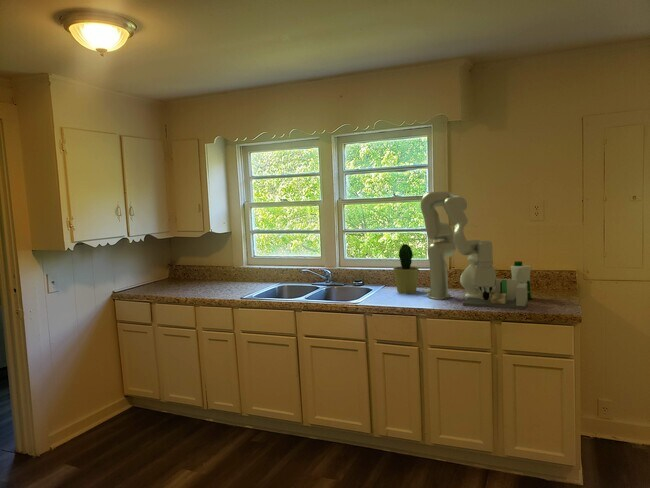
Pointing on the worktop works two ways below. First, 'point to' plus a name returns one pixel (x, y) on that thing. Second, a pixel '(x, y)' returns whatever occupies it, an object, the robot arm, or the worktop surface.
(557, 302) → the worktop surface
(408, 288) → the potted cactus
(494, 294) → the gauge slider
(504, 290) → the gauge frame
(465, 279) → the decorative vase
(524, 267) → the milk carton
